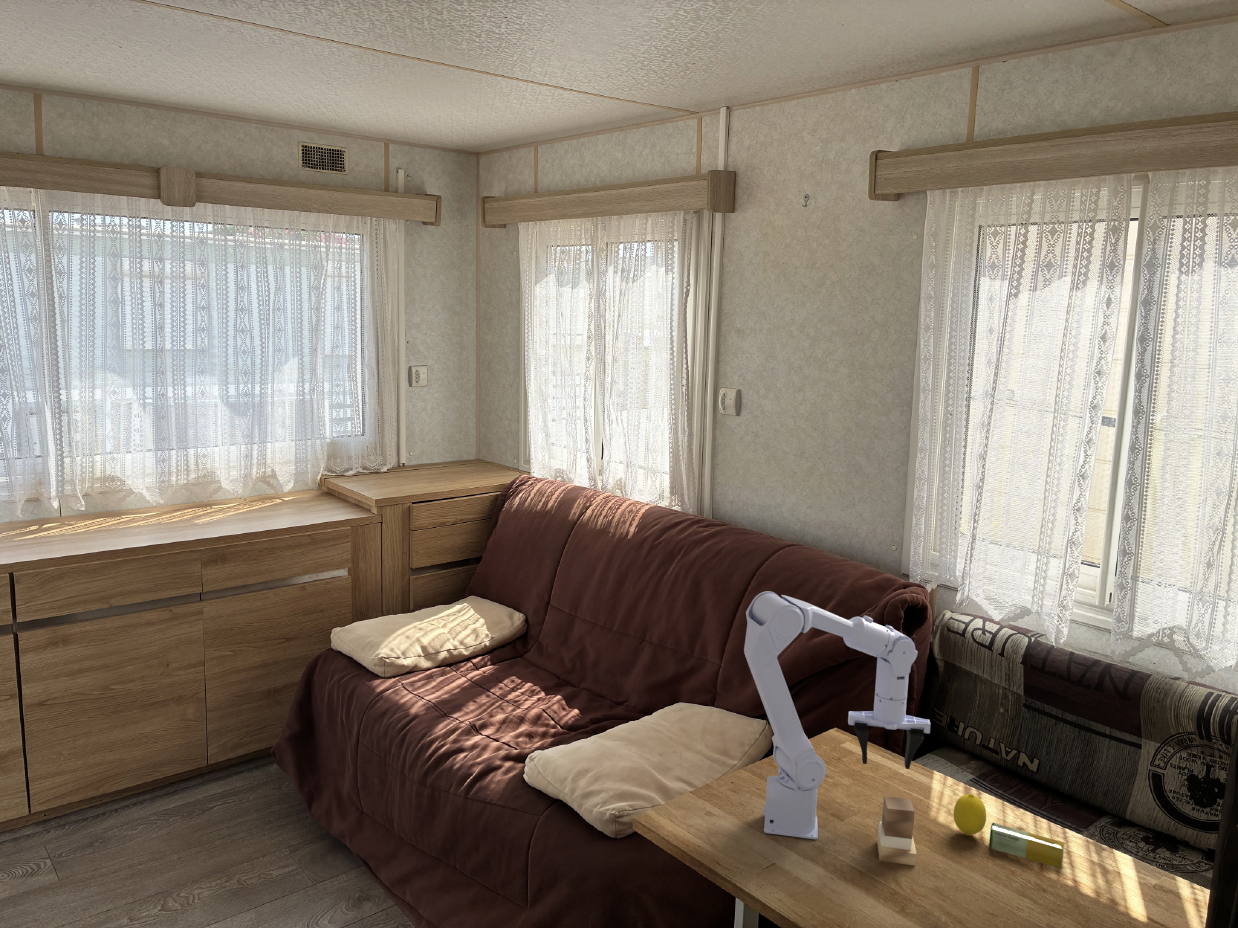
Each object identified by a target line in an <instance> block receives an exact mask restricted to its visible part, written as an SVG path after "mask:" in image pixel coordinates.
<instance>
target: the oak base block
mask: <svg viewBox="0 0 1238 928" xmlns="http://www.w3.org/2000/svg"><path fill="white" fill-rule="evenodd" d="M876 844H877V852H878V859H879V862H888V863H894V864H895V863H896V864H901V865H902V864H903V865H909V866H916V864H917V857H918V856H917V848H916V845H915V839H914V835H913V836H912V845H911V850H905V849H898V848H890V847H883V846H881V843H880V837H879V831H877V840H876Z"/></svg>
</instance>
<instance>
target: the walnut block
mask: <svg viewBox="0 0 1238 928" xmlns="http://www.w3.org/2000/svg"><path fill="white" fill-rule="evenodd" d="M882 802H883V803H882V817H881V821H882V826H883V829H884V833H885V836H891V837H900V838H909V839H912V836H913V837H914V835H913V833H914V825H915V824H914V823H915V808H914V806H913V802H912V800H911V799H910V798H903V797H895V796H893V797H892V796H886V795H883V801H882Z"/></svg>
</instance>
